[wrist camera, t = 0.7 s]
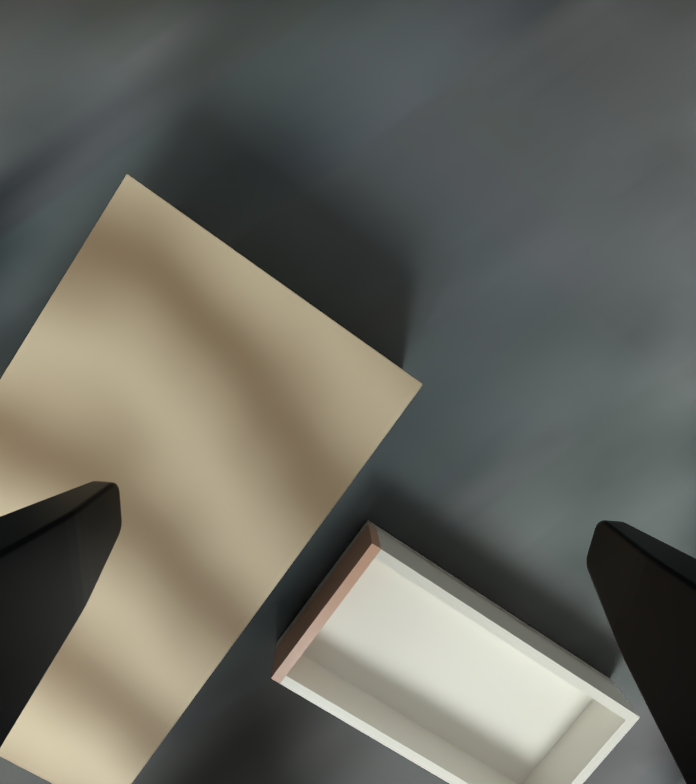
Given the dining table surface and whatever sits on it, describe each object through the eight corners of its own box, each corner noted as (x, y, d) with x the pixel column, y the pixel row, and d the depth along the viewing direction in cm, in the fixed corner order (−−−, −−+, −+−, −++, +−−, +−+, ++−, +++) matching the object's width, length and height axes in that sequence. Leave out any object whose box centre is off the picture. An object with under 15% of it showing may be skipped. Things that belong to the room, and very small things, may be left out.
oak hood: (152, 715, 25) (109, 813, 20) (-71, 591, 24) (-176, 664, 19) (402, 369, 23) (423, 384, 18) (173, 206, 21) (127, 174, 16)
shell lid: (518, 787, 27) (537, 835, 24) (276, 642, 25) (271, 678, 22) (610, 678, 26) (640, 717, 23) (367, 519, 24) (372, 543, 21)
